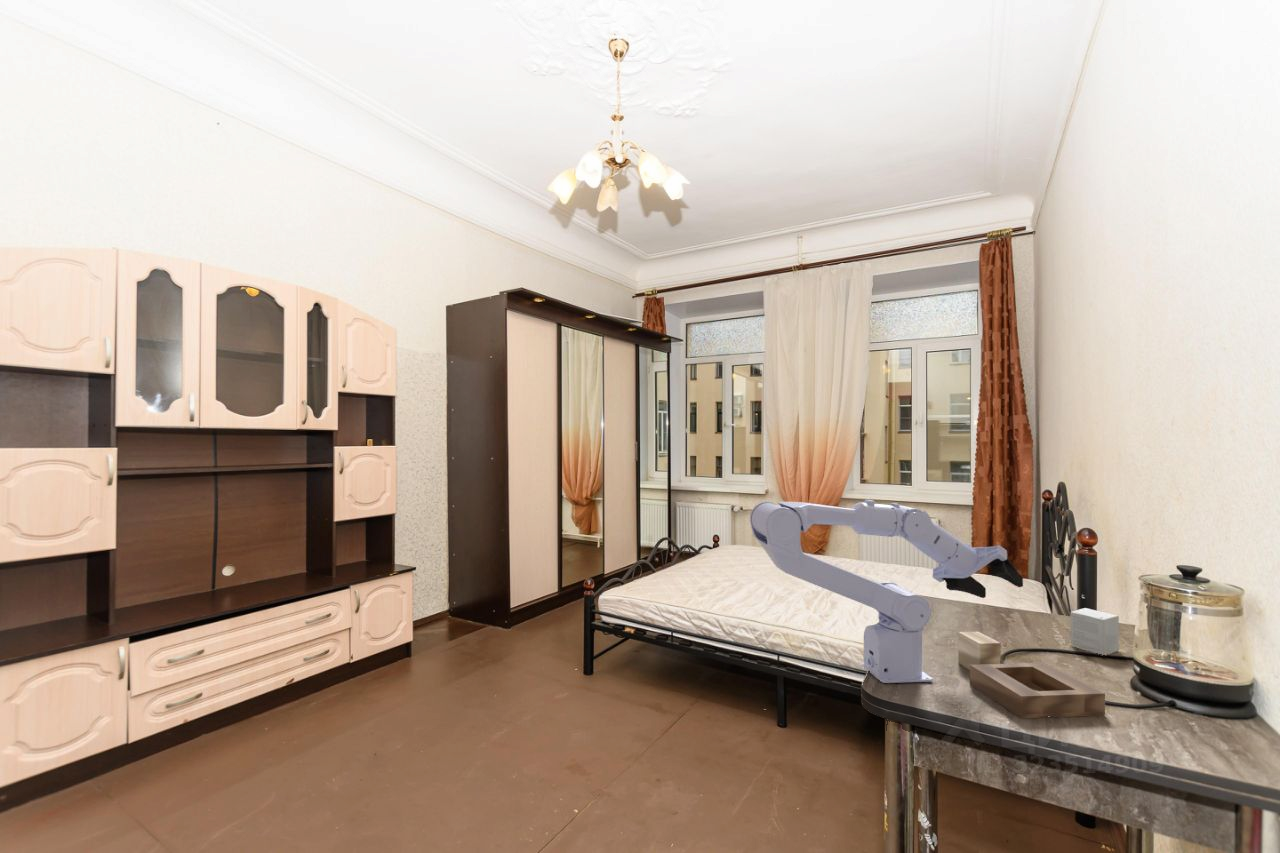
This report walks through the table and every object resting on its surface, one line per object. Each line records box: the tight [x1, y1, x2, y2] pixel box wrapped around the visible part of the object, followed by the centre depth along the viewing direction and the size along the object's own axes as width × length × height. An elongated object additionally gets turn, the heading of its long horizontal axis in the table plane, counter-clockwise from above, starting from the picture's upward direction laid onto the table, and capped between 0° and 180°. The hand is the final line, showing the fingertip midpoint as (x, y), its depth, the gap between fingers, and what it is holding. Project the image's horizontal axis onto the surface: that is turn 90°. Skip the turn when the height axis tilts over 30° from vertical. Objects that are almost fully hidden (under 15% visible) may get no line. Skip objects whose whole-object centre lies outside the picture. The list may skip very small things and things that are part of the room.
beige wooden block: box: [957, 631, 1002, 671], centre depth 107 cm, size 4×6×6 cm, turn 5°
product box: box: [1069, 607, 1120, 656], centre depth 117 cm, size 6×6×7 cm
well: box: [969, 662, 1106, 719], centre depth 95 cm, size 14×12×3 cm
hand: (1002, 587), depth 107 cm, fingers open, 7 cm apart
